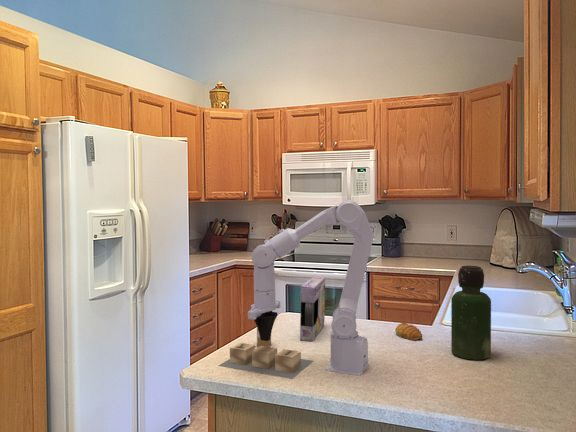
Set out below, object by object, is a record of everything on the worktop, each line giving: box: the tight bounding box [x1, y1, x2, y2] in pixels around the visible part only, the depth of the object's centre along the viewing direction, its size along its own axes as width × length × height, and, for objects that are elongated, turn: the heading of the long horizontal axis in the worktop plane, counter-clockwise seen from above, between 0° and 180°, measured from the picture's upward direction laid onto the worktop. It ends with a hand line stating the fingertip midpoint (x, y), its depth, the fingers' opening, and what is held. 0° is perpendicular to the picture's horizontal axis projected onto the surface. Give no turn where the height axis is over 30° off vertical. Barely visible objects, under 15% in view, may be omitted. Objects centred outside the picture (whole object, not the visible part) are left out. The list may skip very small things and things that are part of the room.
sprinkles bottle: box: [256, 327, 272, 348], centre depth 140 cm, size 5×5×14 cm
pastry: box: [394, 322, 423, 341], centre depth 149 cm, size 9×7×4 cm
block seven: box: [229, 342, 256, 365], centre depth 127 cm, size 5×5×4 cm
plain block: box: [252, 346, 278, 369], centre depth 124 cm, size 5×5×4 cm
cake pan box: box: [299, 276, 326, 342], centre depth 154 cm, size 19×5×18 cm, turn 164°
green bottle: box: [450, 265, 492, 361], centre depth 131 cm, size 10×10×25 cm
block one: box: [275, 348, 302, 373], centre depth 121 cm, size 5×5×4 cm
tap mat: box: [217, 358, 315, 380], centre depth 125 cm, size 22×14×1 cm, turn 64°
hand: (265, 340), depth 124 cm, fingers closed
